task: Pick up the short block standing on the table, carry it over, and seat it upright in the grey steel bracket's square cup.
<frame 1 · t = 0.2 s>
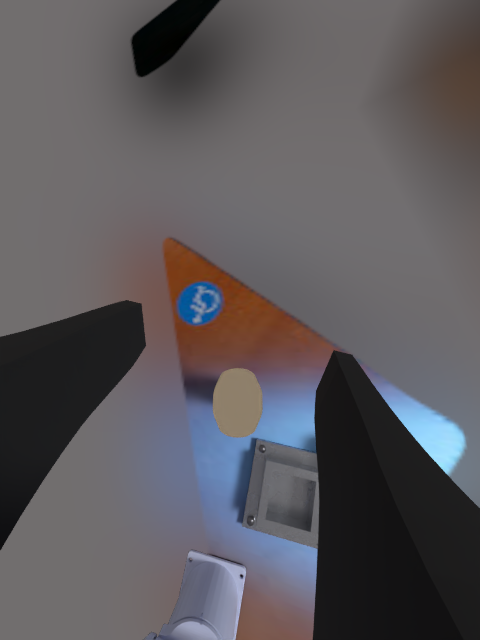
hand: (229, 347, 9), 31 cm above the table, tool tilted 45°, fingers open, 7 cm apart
handle: (247, 396, 39), on the table
bracket: (288, 489, 35), on the table
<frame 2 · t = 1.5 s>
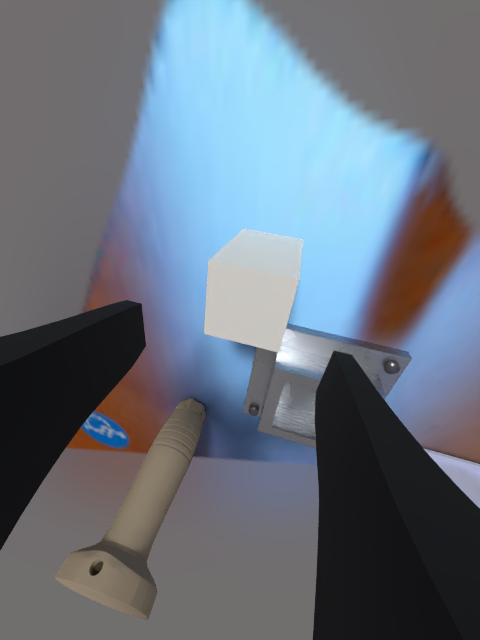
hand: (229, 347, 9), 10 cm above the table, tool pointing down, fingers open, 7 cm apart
handle: (194, 405, 28), on the table
block: (267, 262, 17), on the table
bracket: (312, 383, 22), on the table
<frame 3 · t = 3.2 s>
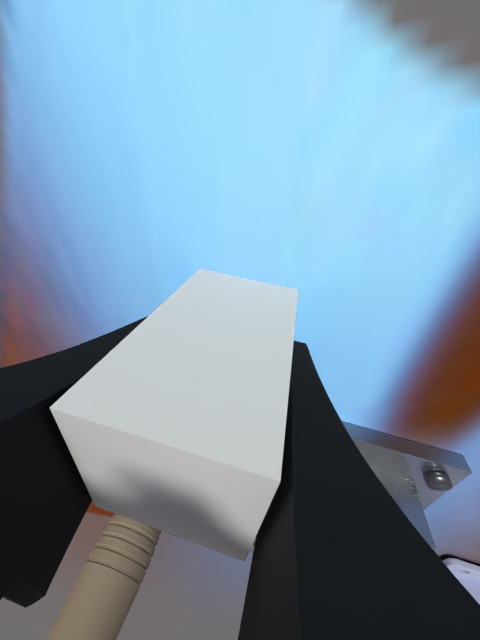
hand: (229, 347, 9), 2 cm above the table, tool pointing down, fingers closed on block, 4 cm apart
handle: (159, 478, 21), on the table
block: (241, 320, 11), on the table, touching gripper
bracket: (313, 475, 16), on the table
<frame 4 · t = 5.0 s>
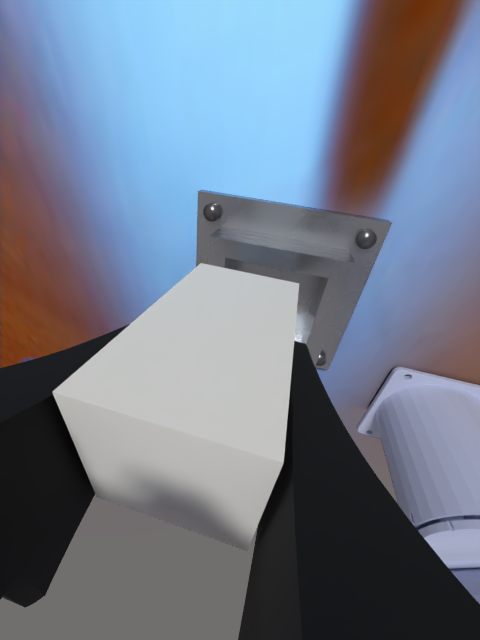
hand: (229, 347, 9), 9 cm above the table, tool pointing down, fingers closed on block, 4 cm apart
block: (242, 315, 11), point 7 cm above the table, touching gripper
bracket: (273, 287, 18), on the table
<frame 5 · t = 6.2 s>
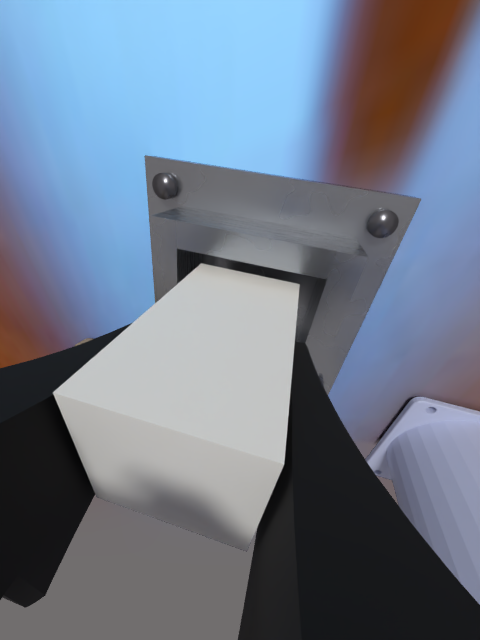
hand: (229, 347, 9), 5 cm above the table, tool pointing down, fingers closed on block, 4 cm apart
block: (242, 316, 11), point 3 cm above the table, touching gripper
bracket: (254, 292, 13), on the table
when the fingers open (5 cm above the table, at t = 7.1 s): block drops 2 cm, resting on bracket.
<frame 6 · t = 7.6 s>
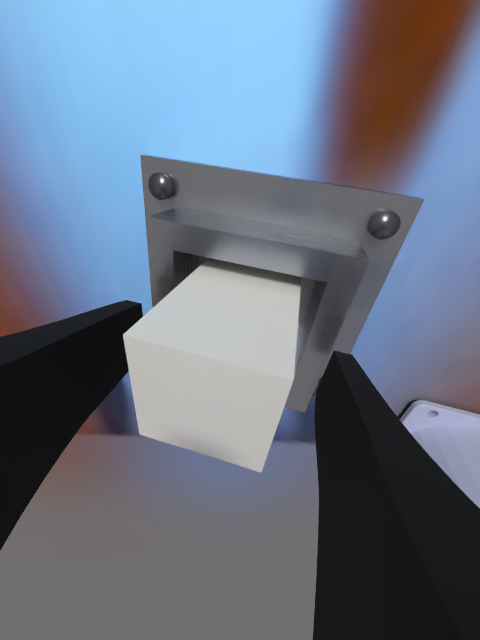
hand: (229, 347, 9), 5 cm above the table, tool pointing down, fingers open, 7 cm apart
block: (251, 297, 12), point 1 cm above the table, touching bracket
bracket: (253, 294, 13), on the table
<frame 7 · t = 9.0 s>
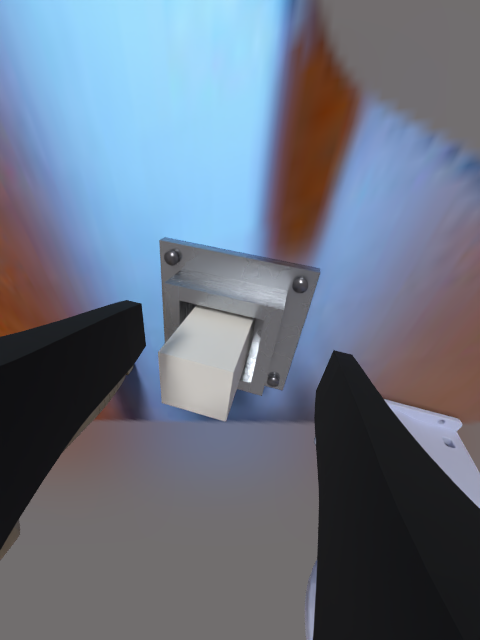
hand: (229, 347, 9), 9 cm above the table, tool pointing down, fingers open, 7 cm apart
handle: (122, 357, 26), on the table
block: (228, 322, 19), point 1 cm above the table, touching bracket
bracket: (230, 318, 20), on the table
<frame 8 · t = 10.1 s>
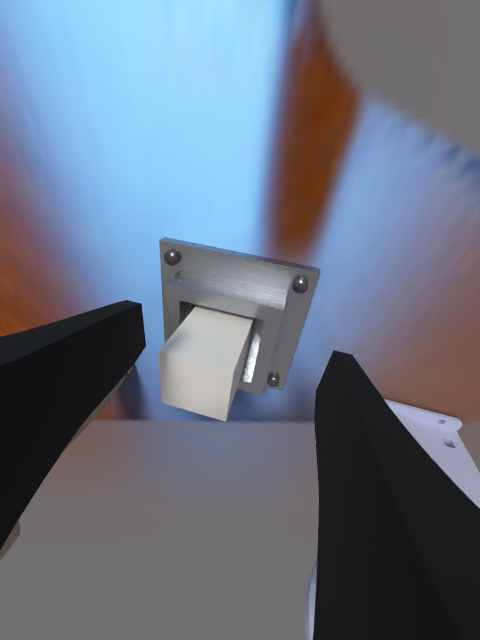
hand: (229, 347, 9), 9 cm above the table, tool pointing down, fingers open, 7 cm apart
handle: (122, 357, 26), on the table
block: (228, 322, 19), point 1 cm above the table, touching bracket
bracket: (230, 318, 20), on the table
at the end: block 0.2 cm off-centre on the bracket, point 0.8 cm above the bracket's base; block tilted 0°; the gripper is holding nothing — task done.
